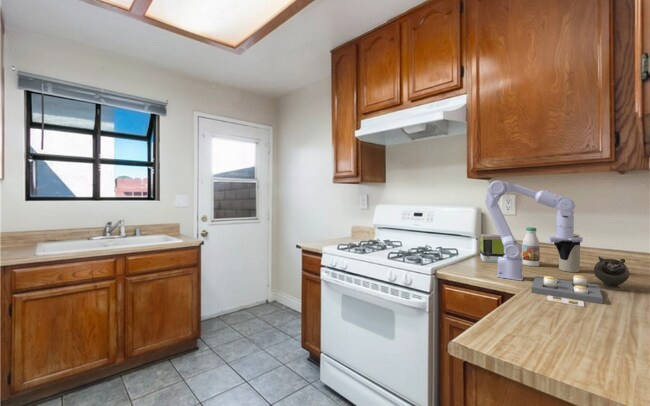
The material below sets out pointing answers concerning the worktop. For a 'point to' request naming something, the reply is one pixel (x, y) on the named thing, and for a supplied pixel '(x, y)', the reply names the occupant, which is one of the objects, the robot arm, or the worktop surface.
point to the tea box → (491, 248)
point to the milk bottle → (530, 248)
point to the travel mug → (571, 259)
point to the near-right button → (580, 289)
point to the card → (565, 301)
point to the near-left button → (550, 281)
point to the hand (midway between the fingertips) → (564, 259)
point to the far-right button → (580, 280)
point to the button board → (567, 290)
